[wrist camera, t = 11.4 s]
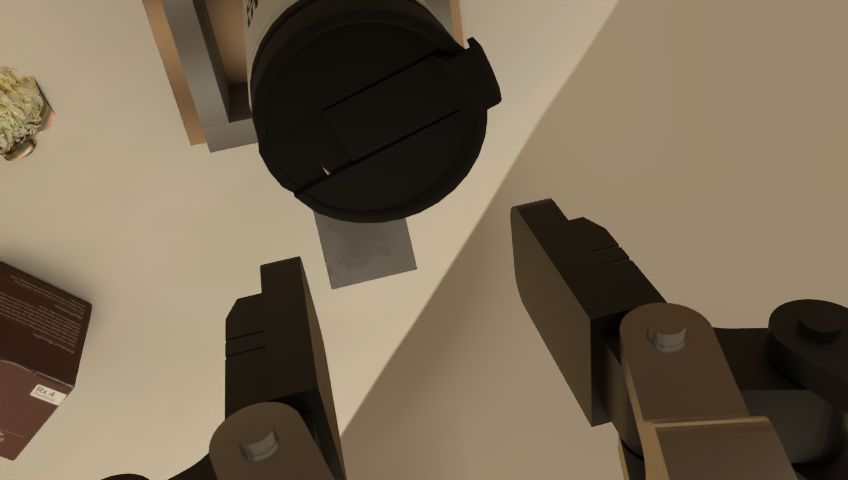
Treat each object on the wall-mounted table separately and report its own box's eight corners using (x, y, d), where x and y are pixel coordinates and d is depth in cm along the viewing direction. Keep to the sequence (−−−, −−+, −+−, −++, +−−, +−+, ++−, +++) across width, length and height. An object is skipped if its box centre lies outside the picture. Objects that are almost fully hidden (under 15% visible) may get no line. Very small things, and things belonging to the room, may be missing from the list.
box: (-62, 328, 42) (-110, 421, 36) (-8, 254, 41) (-49, 338, 35) (42, 372, 45) (13, 464, 39) (97, 304, 44) (75, 390, 38)
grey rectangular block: (297, 141, 35) (295, 138, 34) (381, 122, 35) (382, 119, 34) (331, 287, 35) (331, 289, 34) (414, 267, 36) (417, 268, 34)
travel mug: (400, -7, 37) (537, 167, 21) (284, 56, 38) (327, 277, 21) (340, -132, 34) (447, -45, 17) (213, -61, 34) (198, 91, 18)
